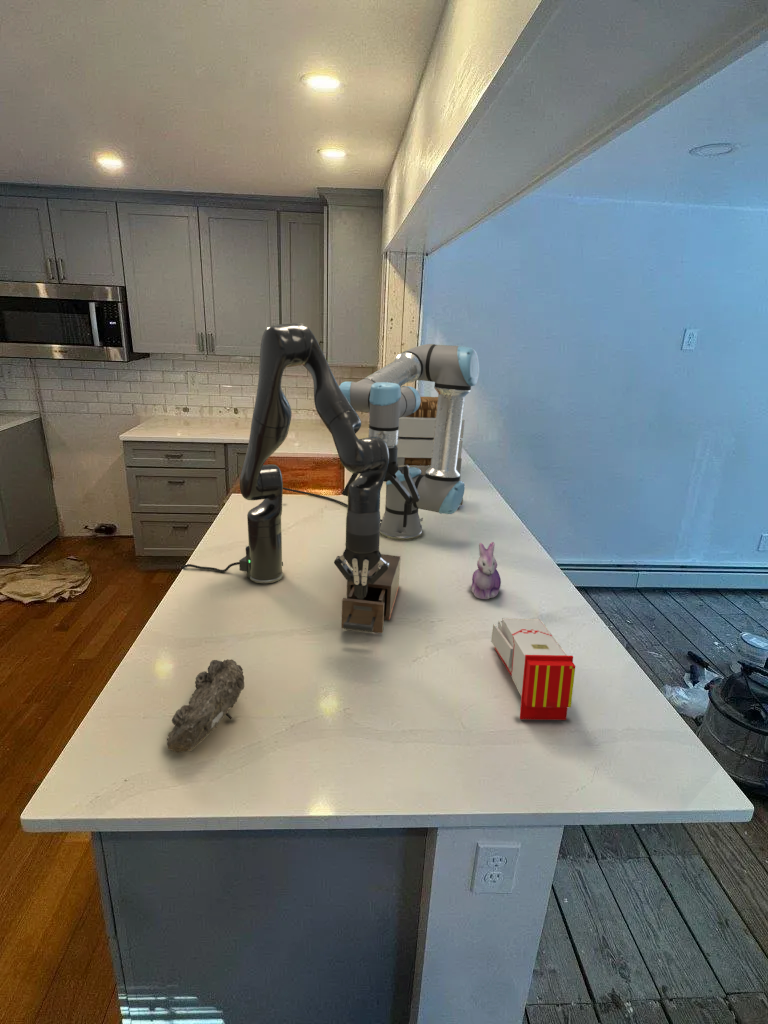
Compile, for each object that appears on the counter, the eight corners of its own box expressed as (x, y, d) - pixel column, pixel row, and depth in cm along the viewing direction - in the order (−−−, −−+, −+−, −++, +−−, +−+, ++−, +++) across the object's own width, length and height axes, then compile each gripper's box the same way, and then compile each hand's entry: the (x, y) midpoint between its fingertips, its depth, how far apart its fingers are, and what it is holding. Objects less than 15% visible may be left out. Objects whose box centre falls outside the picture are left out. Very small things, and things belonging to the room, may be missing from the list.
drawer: (378, 646, 131) (379, 617, 129) (336, 641, 133) (336, 611, 130) (392, 599, 153) (393, 573, 150) (355, 595, 154) (356, 569, 151)
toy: (537, 603, 136) (584, 662, 106) (532, 655, 138) (577, 726, 109) (487, 602, 135) (520, 661, 106) (483, 654, 138) (514, 725, 109)
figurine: (482, 603, 154) (488, 553, 149) (461, 587, 163) (466, 539, 158) (510, 597, 158) (516, 547, 153) (487, 581, 167) (493, 534, 162)
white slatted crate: (382, 463, 289) (386, 382, 275) (445, 464, 293) (451, 384, 279) (390, 482, 257) (394, 392, 243) (460, 483, 261) (468, 394, 247)
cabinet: (389, 620, 144) (391, 586, 141) (346, 615, 146) (346, 581, 143) (398, 587, 162) (400, 556, 158) (359, 583, 163) (360, 552, 160)
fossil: (192, 660, 117) (244, 628, 112) (224, 691, 120) (276, 661, 115) (142, 746, 98) (202, 712, 93) (182, 779, 101) (242, 748, 96)
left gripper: (329, 530, 122) (328, 602, 128) (390, 536, 120) (386, 608, 126) (337, 519, 129) (336, 587, 135) (395, 524, 127) (391, 593, 133)
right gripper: (331, 444, 142) (330, 523, 149) (430, 452, 139) (425, 532, 146) (338, 438, 149) (337, 514, 156) (433, 445, 146) (427, 522, 153)
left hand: (360, 597), depth 131 cm, fingers closed
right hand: (379, 523), depth 151 cm, fingers open, 13 cm apart
